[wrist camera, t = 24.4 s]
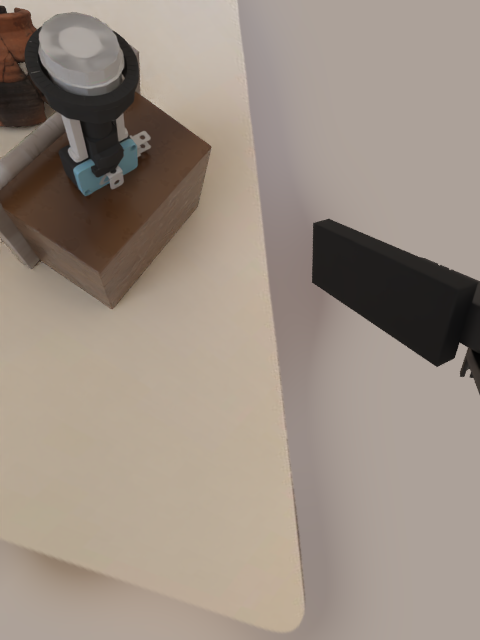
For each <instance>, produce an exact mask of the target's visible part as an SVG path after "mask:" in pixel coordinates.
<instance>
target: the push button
mask: <svg viewBox="0 0 480 640" xmlns="http://www.w3.org/2000/svg"><path fill="white" fill-rule="evenodd" d="M24 56H25V63H26V67H27V69H28V72H29V75H30V77H31V79H32V81H33V82H34V84H35V85H36V86H37V88H38V89H39V90H40V91H41V92H42V93H43V94H44V96H45V98H46V99H47V101H48V103H49V105H50V107H51V108H52V109H54V110H55V111H57V112H58V113H60V114H61V116H62V120H63V123H64V126H65V130H66V133H67V136H68V140H69V143H70V144H69V145H67V146H65V147H63V148H61V149H60V150H59V156H60V159H61V162H62V165H63V168H64V171H65V173H66V175H67V176H68V177H69V178H70V179H71V181H72V182H73V183H74V184H75V185H76V186H77V188H78V189H79V190H80V191H81V192H82V193H83V195H84V196H88V195H90V194H92V193H93V192H94V191H96V190H98V189H100V188H102V187H103V186H105V185H107V184H109V183H110V187H111V189H115V188H117V187H119V186H120V185H122V184H123V183H124V179H123V175H125V174H127V173H129V172H130V171H132V170H134V169H135V168H136V167H137V166H138V158H137V157H139V156H141V154H140V153H142V152H144V151H146V150H148V149H150V148H151V146H150V145H149V144H148V142H147V141H149V140H150V139H151V137H150V136H149V135H148V134H147V133H146V131H142V132H140V133H139V134H137V135H135V136H133V137H132V136H131V135H130V136H129V135H128V131H127V129H126V128H125V126H124V114H123V113H124V111H125V110H126V109H127V108H128V107H129V106H130V105H131V104H132V103H133V102H134V97H135V90H136V88H137V85H138V81H139V65H138V60H137V57H136V55H135V53H134V51H133V49H132V48H131V46H130V45H129V44H128V43H127V42H126V41H125V39H123V38H122V37H121V36H120V35H119V34H117V33H116V32H114V31H113V30H112V29H110V28H109V27H108V26H107V25H106V24H105V23H103V22H102V21H100V20H98V19H97V18H95V17H93V16H91V15H86V14H81V13H77V12H70V13H63V14H57V15H55V16H53V17H52V18H50V19H49V20H47V21H46V22H44V24H43V25H42V27H40V28H39V29H37V30H36V31H35V32H34V33H33V34H32V35H31V37H30V38H29V40H28V41H27V44H26V47H25V54H24ZM48 73H49V76H50V80H51V81H50V80H49V79H48V78H47V75H48ZM122 75H123V76H124V78H125V79H124V81H123V82H122ZM140 136H145V139H144V140H142V139H140ZM141 144H144V145H145V148H141V146H140V145H141ZM117 180H119V182H118V183H117V184H114V183H115V182H116V181H117Z"/></svg>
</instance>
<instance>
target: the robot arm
mask: <svg viewBox="0 0 480 640" xmlns="http://www.w3.org/2000/svg"><path fill="white" fill-rule="evenodd" d="M312 283H314V284H315V285H317V286H318V287H320V288H321V289H323V290H324V291H326V292H327V293H329V294H330V295H332V296H333V297H335V298H336V299H337V300H339V301H341V302H342V303H343V304H345V305H346V306H348V307H349V308H351V309H352V310H354V311H355V312H357V313H358V314H360V315H361V316H363V317H364V318H366V319H367V320H369V321H370V322H371V323H373V324H374V325H376V326H377V327H379V328H380V329H382V330H383V331H385V332H386V333H388V334H389V335H391V336H392V337H394V338H395V339H397V340H398V341H399V342H401V343H402V344H404V345H406V346H407V347H408V348H410V349H411V350H413V351H414V352H416V353H417V354H419V355H420V356H422V357H423V358H425V359H426V360H428V361H429V362H430V363H432V364H434V365H435V366H437V367H438V366H440V365H442V364H444V363H446V362H448V361H450V360H452V359H454V358H455V355H456V351H457V349H458V345H459V342H460V343H462V344H463V345H465V346H467V347H468V350H467V353H466V356H465V359H464V362H463V365H462V368H461V371H460V377H464V376H465V373H466V371H467V370H468V369H470V370H471V374H470V377H471V378H474V380H475V383H476V386H477V388H478V391H479V394H480V281H478V280H475V279H473V278H470V277H468V276H466V275H463V274H461V273H459V272H456V271H454V270H449V268H447V267H444V266H442V265H440V266H439V265H438V264H437V263H435V262H432V261H430V260H428V259H425V258H421V257H418V256H415V255H413V254H410V253H408V252H406V251H403V250H401V249H399V248H396V247H394V246H392V245H389V244H387V243H384V242H382V241H380V240H377V239H375V238H373V237H370V236H368V235H366V234H363V233H361V232H358V231H356V230H354V229H352V228H349V227H347V226H344V225H342V224H340V223H337V222H335V221H333V220H330V219H327V220H323V221H319V222H316V223H313V267H312Z"/></svg>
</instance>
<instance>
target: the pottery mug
mask: <svg viewBox="0 0 480 640" xmlns="http://www.w3.org/2000/svg"><path fill="white" fill-rule="evenodd" d="M36 30H37V29H36V28H35V27H34V26H33V24H32V20H31V14H30V12H29V11H28V10H25V9H20V8H15V9H14V13H7V12H6V8H5V7H4V6H0V126H6V127H12V126H14V127H21V126H32V125H35V124H39V123H42V122H45V121H46V116H45V112H44V111H45V107H44V102H46V103H47V104H49V103H48V101H47V99H46V98H45V96H44V94H43V93H42V92H41V91H40V90H39V89H38V88H37V86H36V85H35V84H34V82H33V81H32V79H31V77H30V75H29V73H28V74H27V75H26V74H25V73H24V72H23V71H22V69H21V67H20V66H19V64H18V63H23V62H25V56H24V54H25V47H26V44H27V41H28V40H29V38H30V37H31V35H32V34H33V33H34V32H35V31H36ZM47 78H48V79H49V80H50V76H49V73H48V75H47ZM50 81H51V80H50Z"/></svg>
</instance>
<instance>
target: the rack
mask: <svg viewBox="0 0 480 640" xmlns="http://www.w3.org/2000/svg"><path fill="white" fill-rule="evenodd" d="M130 46H131V45H130ZM131 48H132V49H133V51H134V53H135V55H136V57H137V60H138V65H139V64H140V63H139V51H137V50H136V49H135V48H133V47H132V46H131ZM124 79H125V78H124V76H123V75H122V82H123V81H124ZM123 114H124V126H125V128H126V129H127V131H128V135H129V136H130V135H131V136H132V137H133V136H135V135H137V134H139V133H140V132H142V131H146V133H147V134H148V135H149V136H150V137H151V139H150V140H149V141H147V142H148V144H149V145H150V146H151V148H150V149H148V150H146V151H144V152H142V153H140V154H141V156H139V157H137V158H138V166H137V167H136V168H135V169H134V170H132V171H130V172H129V173H127V174H125V175H123V179H124V183H123V184H122V185H120V186H119V187H117V188H115V189H111V187H110V183H109V184H107V185H105V186H103V187H102V188H100V189H98V190H96V191H94V192H93V193H92V194H90V195H88V196H84V195H83V193H82V192H81V191H80V190H79V189H78V188H77V186H76V185H75V184H74V183H73V182H72V181H71V179H70V178H69V177H68V176H67V175H66V173H65V171H64V168H63V165H62V162H61V159H60V156H59V150H60V149H61V148H63V147H65V146H67V145H69V144H70V143H69V140H68V136H67V133H66V130H65V126H64V123H63V120H62V116H61V114H60V113H58V112H57V111H56V112H55V113H54V114H53V115H52V116H51V117H49V118H48V119H47V120H46V121H45V122H43V123H42V124H41V125H40V126H39V127H38V128H36V129H35V130H34V131H33V132H32V133H31V134H29V135H28V136H27V137H26V138H25V139H24V140H22V141H21V142H20V143H19V144H18V145H16V146H15V147H14V148H13V149H12V150H11V151H9V152H8V153H7V154H6V155H5V156H4V157H2V158H1V159H0V238H1V240H2V241H3V242H4V243H5V244H6V245H7V247H8V248H9V249H10V250H11V251H12V252H13V254H14V255H15V256H16V257H17V258H18V260H19V261H20V262H22V263H23V264H24V265H26V266H27V267H29V268H30V269H32V268H33V267H34V266H35V265H36V264H37V263H38V262H39V261H40V260H41V261H42V262H43V263H45V264H46V265H48V266H49V267H51V268H52V269H54V270H55V271H57V272H58V273H60V274H61V275H63V276H64V277H65V278H67V279H68V280H70V281H71V282H73V283H74V284H76V285H77V286H79V287H80V288H82V289H83V290H84V291H86V292H87V293H89V294H90V295H92V296H93V297H95V298H96V299H98V300H99V301H101V302H102V303H103V304H105V305H106V306H108V307H109V308H111V309H113V308H114V307H115V306H116V304H117V303H118V302H119V301H120V300H121V298H122V297H123V296H124V295H125V293H126V292H127V291H128V290H129V289H130V287H131V286H132V285H133V284H134V283H135V281H136V280H137V279H138V278H139V277H140V275H141V274H142V273H143V272H144V271H145V269H146V268H147V267H148V266H149V265H150V263H151V262H152V261H153V260H154V259H155V257H156V256H157V255H158V254H159V253H160V251H161V250H162V249H163V248H164V246H165V245H166V244H167V243H168V242H169V240H170V239H171V238H172V237H173V236H174V234H175V233H176V232H177V231H178V230H179V228H180V227H181V226H182V225H183V224H184V222H185V221H186V220H187V219H188V218H189V216H190V215H191V214H192V213H193V212H194V210H195V209H196V208H197V207H198V203H199V199H200V195H201V190H202V186H203V182H204V177H205V173H206V169H207V164H208V160H209V156H210V151H211V146H210V145H209V144H207V143H206V142H205V141H203V140H202V139H200V138H199V137H198V136H196V135H195V134H194V133H192V132H191V131H189V130H188V129H187V128H185V127H184V126H183V125H181V124H180V123H178V122H177V121H176V120H174V119H173V118H172V117H170V116H169V115H167V114H166V113H165V112H163V111H162V110H161V109H159V108H158V107H156V106H155V105H154V104H152V103H151V102H150V101H148V100H147V99H145V98H144V97H143V96H141V95H140V68H139V81H138V85H137V88H136V90H135V97H134V102H133V103H132V104H131V105H130V106H129V107H128V108H127V109H126V110H125V111H124V113H123ZM140 139H142V140H144V139H145V136H140ZM140 146H141V148H145V145H144V144H141V145H140ZM118 182H119V180H117V181H116V182H115V183H114V184H117V183H118Z"/></svg>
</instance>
